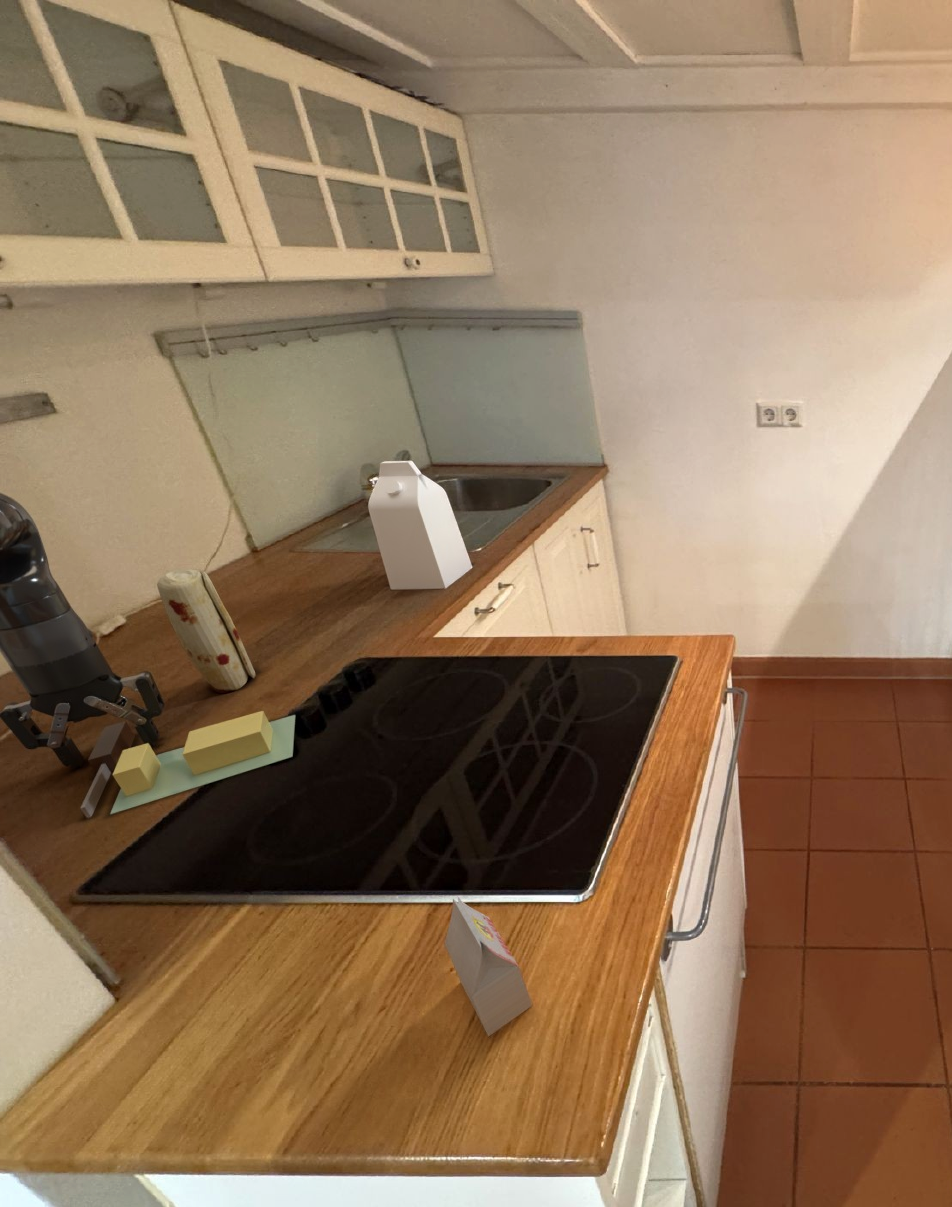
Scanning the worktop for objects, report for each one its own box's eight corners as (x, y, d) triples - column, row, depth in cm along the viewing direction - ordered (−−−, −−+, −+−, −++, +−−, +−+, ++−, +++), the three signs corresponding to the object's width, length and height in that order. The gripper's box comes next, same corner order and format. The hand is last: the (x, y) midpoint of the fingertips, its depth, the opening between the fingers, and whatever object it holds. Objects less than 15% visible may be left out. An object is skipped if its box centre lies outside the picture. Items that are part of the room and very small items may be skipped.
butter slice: (126, 796, 82) (112, 774, 80) (135, 771, 86) (122, 749, 85) (152, 788, 83) (139, 766, 82) (161, 763, 88) (148, 742, 86)
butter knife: (80, 827, 79) (64, 804, 77) (117, 747, 93) (104, 726, 91) (105, 819, 80) (90, 796, 78) (138, 741, 94) (126, 720, 92)
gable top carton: (490, 1042, 55) (458, 963, 50) (463, 988, 59) (430, 910, 55) (534, 1011, 57) (506, 932, 52) (504, 961, 61) (476, 884, 57)
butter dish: (113, 820, 80) (109, 814, 79) (135, 768, 89) (131, 762, 88) (295, 762, 89) (292, 756, 88) (297, 720, 98) (295, 714, 97)
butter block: (194, 775, 85) (181, 754, 84) (200, 752, 90) (188, 731, 88) (270, 752, 89) (260, 731, 88) (273, 730, 94) (263, 710, 92)
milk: (472, 567, 151) (440, 454, 139) (445, 588, 140) (408, 468, 129) (421, 568, 151) (384, 456, 140) (390, 589, 141) (348, 469, 129)
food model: (206, 680, 109) (148, 569, 100) (257, 666, 113) (205, 557, 104) (208, 705, 102) (146, 588, 93) (262, 688, 106) (207, 574, 97)
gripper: (-47, 680, 76) (33, 791, 83) (121, 643, 83) (181, 748, 91) (-22, 654, 82) (51, 760, 89) (134, 621, 89) (189, 722, 96)
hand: (116, 753), depth 90 cm, fingers open, 6 cm apart
